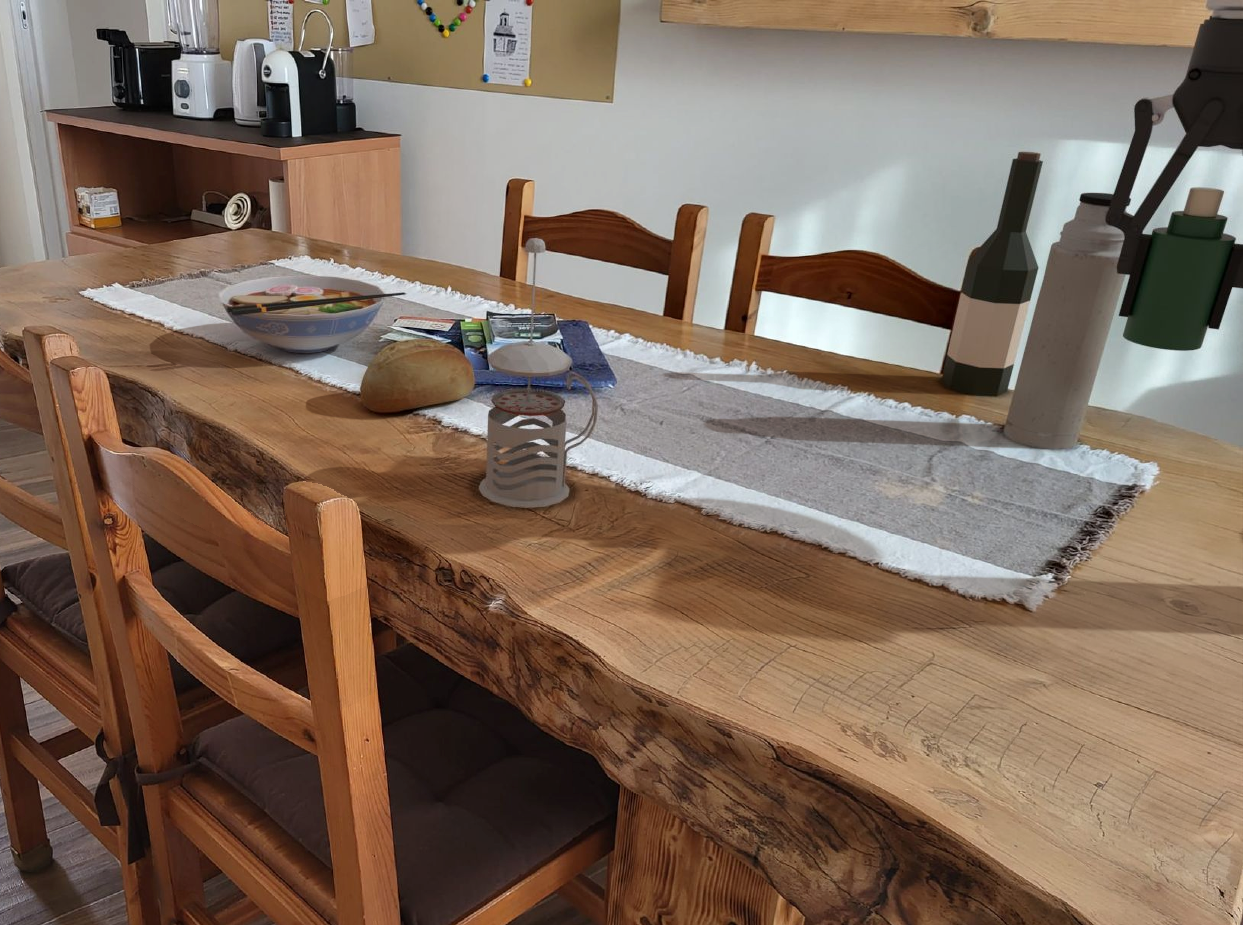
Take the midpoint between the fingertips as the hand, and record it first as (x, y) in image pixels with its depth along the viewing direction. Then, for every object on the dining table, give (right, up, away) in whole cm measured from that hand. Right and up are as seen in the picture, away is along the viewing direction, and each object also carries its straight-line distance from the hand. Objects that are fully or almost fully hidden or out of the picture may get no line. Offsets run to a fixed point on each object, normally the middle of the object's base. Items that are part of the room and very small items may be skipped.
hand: (1168, 318), depth 92 cm
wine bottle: (+6, +2, +53) cm, 53 cm away
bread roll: (-67, -2, +39) cm, 78 cm away
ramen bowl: (-85, +9, +59) cm, 104 cm away
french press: (-54, -14, +17) cm, 58 cm away
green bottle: (0, -2, +1) cm, 2 cm away
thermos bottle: (+7, -7, +36) cm, 37 cm away
